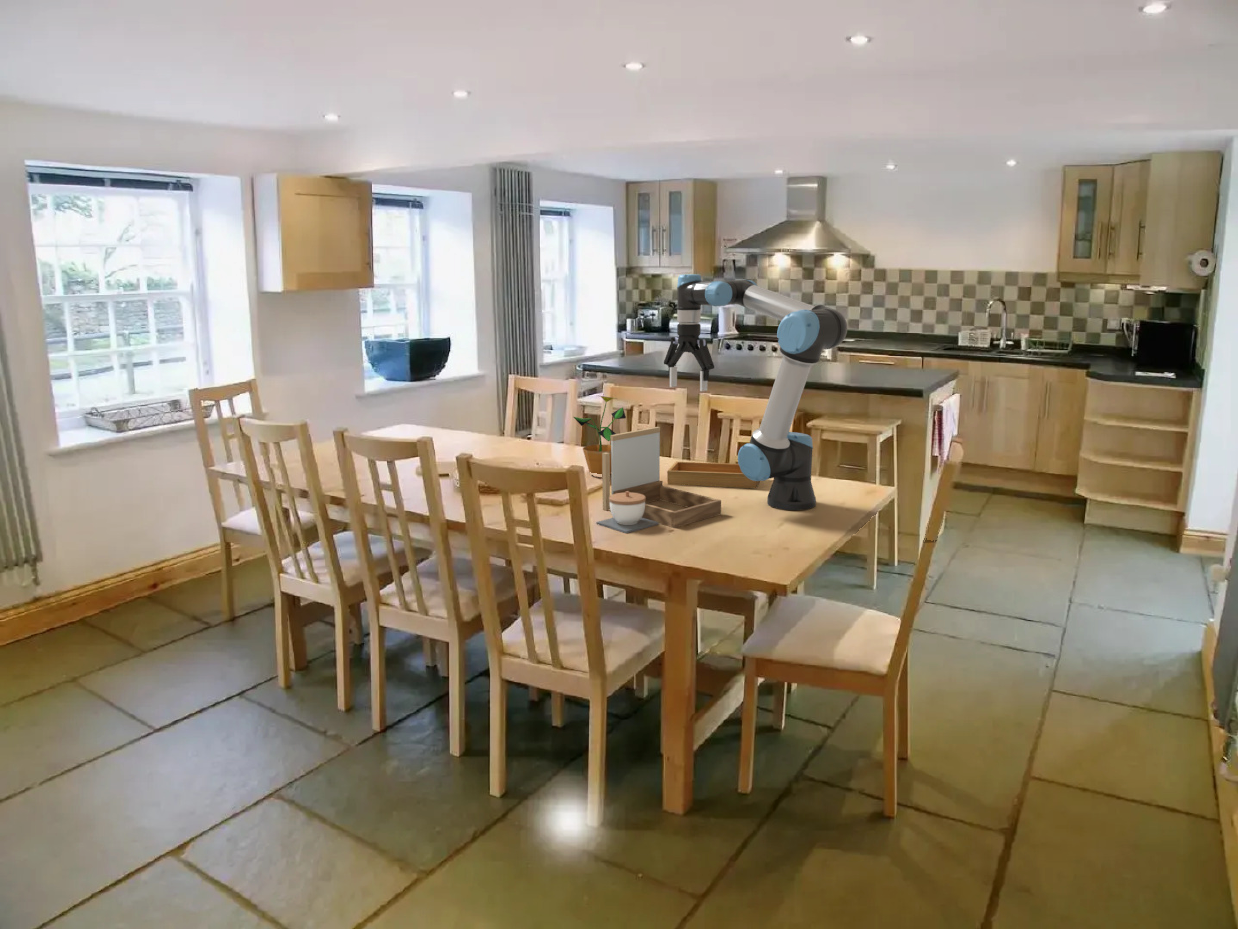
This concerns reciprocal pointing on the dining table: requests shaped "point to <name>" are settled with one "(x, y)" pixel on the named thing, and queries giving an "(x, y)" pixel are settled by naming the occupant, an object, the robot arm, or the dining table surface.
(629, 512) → the lidded jar
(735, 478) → the tray
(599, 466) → the potted plant
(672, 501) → the dark wooden box
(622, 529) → the slate mat
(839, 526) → the dining table surface
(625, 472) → the white upright flat panel
